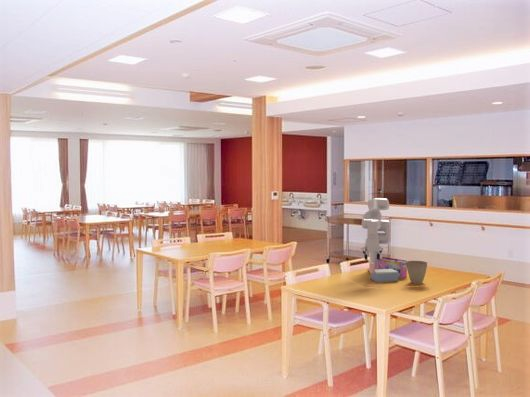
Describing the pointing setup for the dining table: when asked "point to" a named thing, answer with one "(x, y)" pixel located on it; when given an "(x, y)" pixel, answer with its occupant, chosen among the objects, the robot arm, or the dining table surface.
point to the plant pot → (416, 271)
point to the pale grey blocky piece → (380, 270)
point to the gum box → (393, 265)
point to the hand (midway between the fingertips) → (372, 259)
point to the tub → (384, 277)
